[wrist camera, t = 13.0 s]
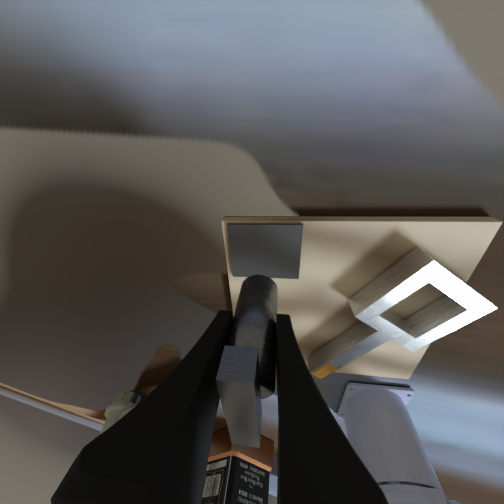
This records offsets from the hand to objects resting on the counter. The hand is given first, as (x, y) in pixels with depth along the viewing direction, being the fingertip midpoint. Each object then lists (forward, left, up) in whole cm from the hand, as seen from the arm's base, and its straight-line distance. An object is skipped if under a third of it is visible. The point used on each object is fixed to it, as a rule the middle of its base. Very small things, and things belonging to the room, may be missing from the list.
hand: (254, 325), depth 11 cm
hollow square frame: (-8, -10, -8) cm, 15 cm away
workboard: (-7, -7, -9) cm, 13 cm away
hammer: (0, 0, -3) cm, 3 cm away
